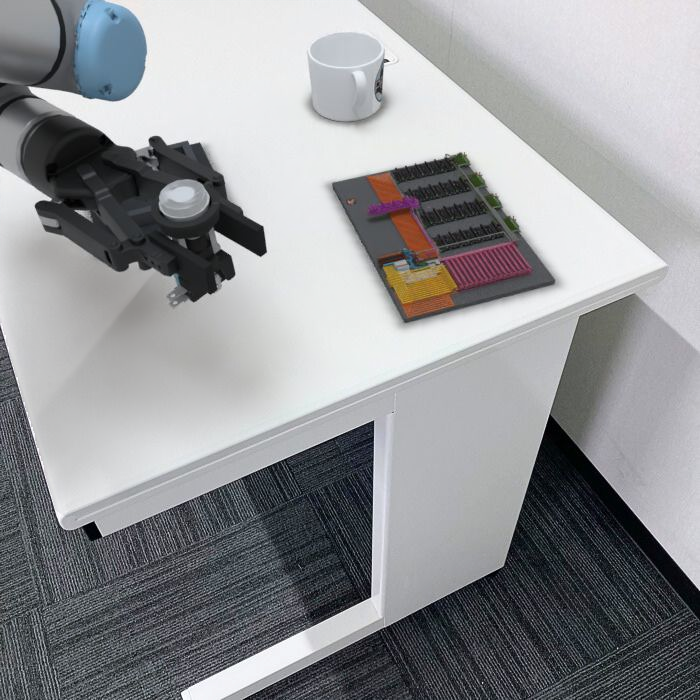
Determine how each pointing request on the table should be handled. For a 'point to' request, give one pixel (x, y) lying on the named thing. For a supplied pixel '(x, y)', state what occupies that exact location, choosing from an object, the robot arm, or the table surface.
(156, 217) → the push button
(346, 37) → the mug
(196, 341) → the table surface
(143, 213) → the docking pad
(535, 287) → the circuit board
